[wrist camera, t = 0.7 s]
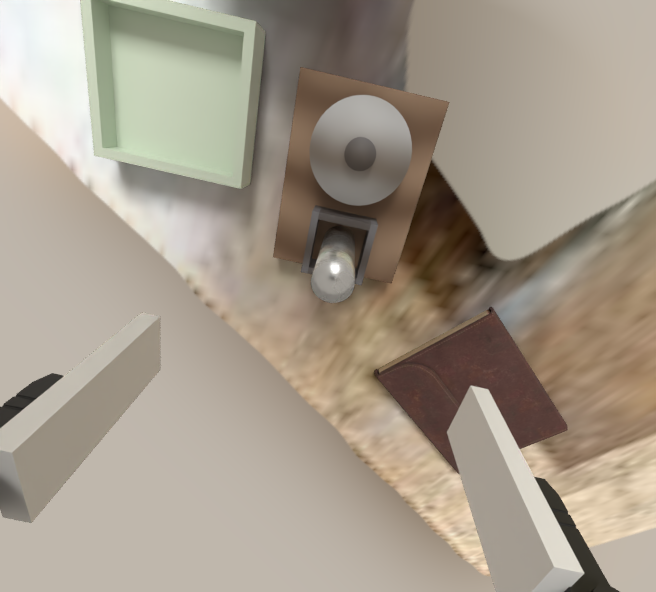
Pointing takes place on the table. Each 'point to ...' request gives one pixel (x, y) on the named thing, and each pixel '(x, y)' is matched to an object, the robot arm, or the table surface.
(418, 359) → the notebook
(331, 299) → the pin
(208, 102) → the tray
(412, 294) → the table surface
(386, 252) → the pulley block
